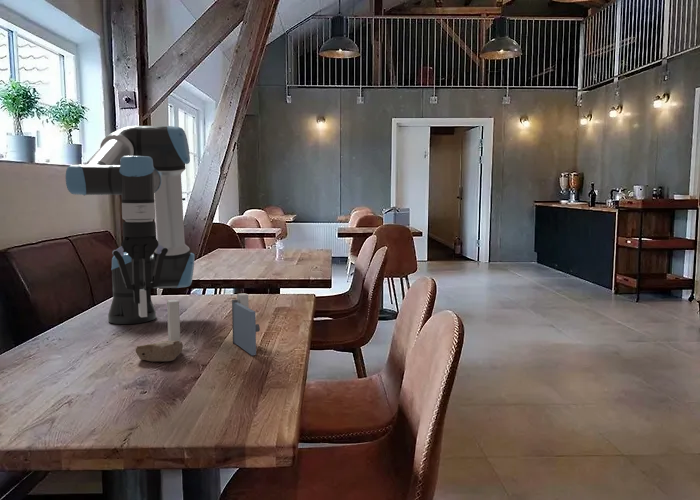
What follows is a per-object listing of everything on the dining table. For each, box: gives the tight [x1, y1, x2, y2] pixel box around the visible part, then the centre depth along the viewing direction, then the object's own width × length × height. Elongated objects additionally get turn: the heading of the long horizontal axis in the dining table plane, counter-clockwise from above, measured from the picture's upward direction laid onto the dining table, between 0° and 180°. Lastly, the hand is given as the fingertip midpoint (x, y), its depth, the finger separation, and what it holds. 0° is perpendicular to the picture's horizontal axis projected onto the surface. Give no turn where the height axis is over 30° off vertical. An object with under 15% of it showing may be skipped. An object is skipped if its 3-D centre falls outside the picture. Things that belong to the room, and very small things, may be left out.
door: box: [231, 298, 261, 356], centre depth 158 cm, size 3×16×13 cm, turn 29°
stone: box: [135, 340, 184, 362], centre depth 149 cm, size 9×11×5 cm
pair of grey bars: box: [166, 292, 250, 342], centre depth 161 cm, size 3×22×14 cm, turn 120°
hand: (143, 315), depth 142 cm, fingers closed
